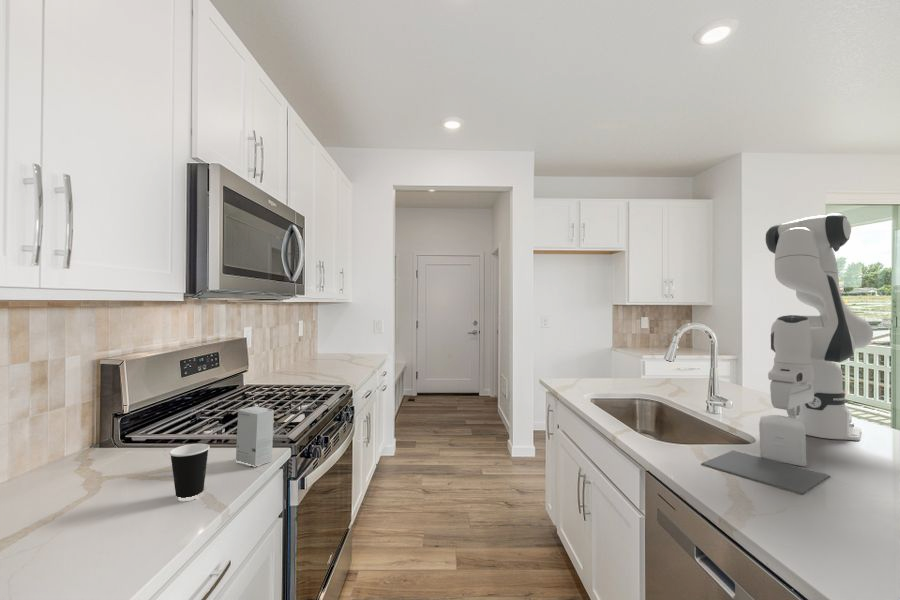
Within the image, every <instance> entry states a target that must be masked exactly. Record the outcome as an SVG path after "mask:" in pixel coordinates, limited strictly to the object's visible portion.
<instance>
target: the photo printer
mask: <svg viewBox="0 0 900 600" xmlns="http://www.w3.org/2000/svg"><path fill="white" fill-rule="evenodd" d="M758 424H759V425H758V427H759V428H758V430H759V431H758V433H759V454H760V455H759V457H761V458H765V459H769V460H773V461H777V462H781V463H785V464H788V465H792V466H797V467H806V466H807V441H806V439H807V435H806V434H805V427H804V423H803V422H801V421H799V420H797V419H794V418H790V417H788V416H787V415H779V414H765V415H762V416H760V419H759V423H758Z"/></svg>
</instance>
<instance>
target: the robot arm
mask: <svg viewBox="0 0 900 600" xmlns="http://www.w3.org/2000/svg"><path fill="white" fill-rule="evenodd" d="M851 233H852V225H851V223H850V221H849V220H848V218H847V216H846V215H844V214H841V213H828V214H827V215H816V216H815V215H814V216H809V217H804V218H800V219H796V220H792V221H788V222H785V223H778V224H775V225H773V226H770V227H769V229H768V230H767V231H766V233H765V239H764V240H765V245H766V248H767V249H768V251H769V252H771V253H773V254H774V275H775V278H776V280H777V281H778V282H779V283H780V284H782V286H784V287H786V288H788V289H790V290H793V291H795V295H796V298H797V299H798V301H800V302H801V303H803V304H805V305H808V306H810V307H812V308H815V309H816V310H817V311H818V312H819V315H797V314H796V315H793V314H792V315H791V314H788V315H781V316H779V317H777V318H776V319H775V321H774V322H773V323H772V325H771V329H770V350H771V351H773V353H775V355H774V359H773V365H772V366H773V367H772V369H771V370H769V371H768V373H767V376H768V377H767V378H768V380H769V381H770V385H769V388H770V402H771V405H772V407H773V408H774V409H779V410H783V411H786V414H787V417H790V418H794V419H797V420H799V421H801V422H803V423H804V427H805V435H806V436H810V437H815V438H821V439H828V440H829V439H830V440H846V441H847V440H849V441H860V439H861V435H862V434H861V433H862V428H860V427H859V426H858V427H857V426H855V424H854V423H853V416H852V412H851V411H850V409H849V408H848V407H847V405H846V403H847V402H846V391H844V390H843V382H844V381H843V371H842V368H841V367H840V366H839V365H838V364H837V363H843V362H845V361H847V360H848V359H850V358H851V357H853V356H854V353H855V349H861V348H865V347H867V346H868V345H869V344H870V343H871V342H872V340H873V337H874V330H873V328H872V325H871V324H870V323H869V322H868V321H867V320H866V319H865V318H863V317H861V316H859V315H858V314H855V313H854V312H853V311H852V309H850V308H849V307H848V305H847V304H846V303H845V301H844V300H843V298H842V293H841V288H840V283H839V282H840V281H839V279H840V278H839V270H838V263H837V259H836V254H835V252H838V251H839V250H840V248H841V247H843V246H844V245H845V244H846V243H847V242H848V241H849V239H850V238H851Z"/></svg>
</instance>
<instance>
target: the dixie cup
mask: <svg viewBox="0 0 900 600" xmlns="http://www.w3.org/2000/svg"><path fill="white" fill-rule="evenodd" d="M210 447H211V446H210V444H207V443H190V444H185V445H181V446H177V447H175V448H172V449H171V450H170V451H169V453H168V454H169V456H170V461H171V469H172V475H173V476H172V477H173V484H174V490H175V491H174V492H175V496H177V497H181V498H186V497H192V496H195V495H198V494H200V493H202V494H203V492H204V490H205V489H204V488H205V480H206V473H207V464H208V454H209V449H210ZM177 497H176V498H177Z"/></svg>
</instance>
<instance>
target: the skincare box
mask: <svg viewBox="0 0 900 600" xmlns="http://www.w3.org/2000/svg"><path fill="white" fill-rule="evenodd" d="M274 412H275V410H274V409H272V408H266V407H262V406H261V407H260V406H255V405H253V406H250V407H249V406H248V407H245V408H240V409H237V428H236V430H237V431H236V449H235V450H236V451H235V461H236V460H237V461H241V462H244V463H248V464H251V465H254V466H256V465H259V464H262V463H265V462H269V461H273V441H274V414H275V413H274Z"/></svg>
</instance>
